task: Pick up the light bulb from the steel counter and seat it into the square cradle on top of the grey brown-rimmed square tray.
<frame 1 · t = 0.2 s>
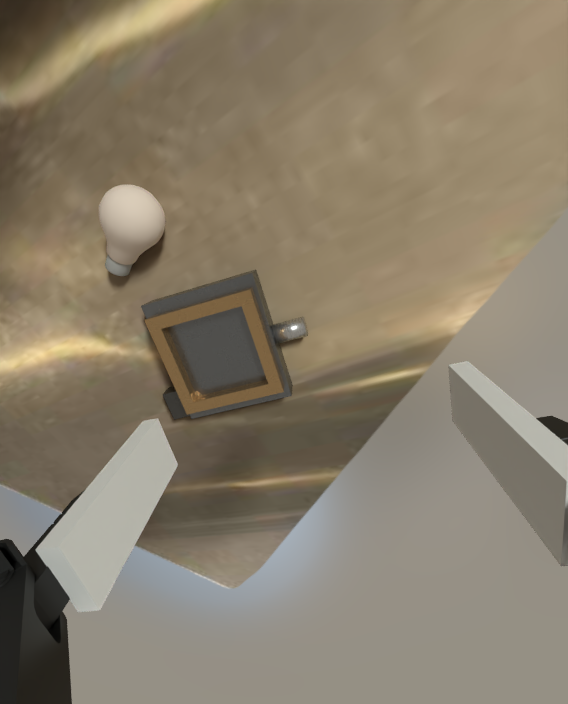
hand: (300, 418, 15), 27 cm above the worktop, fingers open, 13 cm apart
grey brown-rimmed square tray: (224, 344, 43), on the worktop
light bulb: (139, 233, 39), on the worktop
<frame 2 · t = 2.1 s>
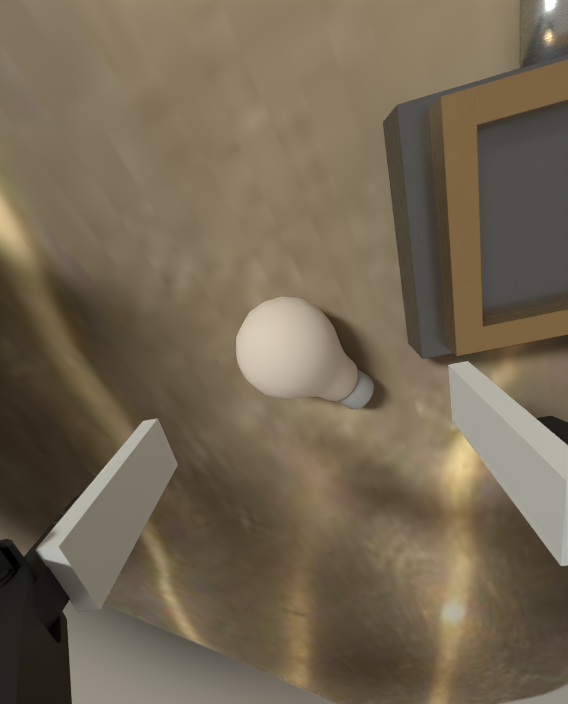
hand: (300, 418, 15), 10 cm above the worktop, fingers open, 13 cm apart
grey brown-rimmed square tray: (527, 213, 20), on the worktop
light bulb: (309, 349, 25), on the worktop
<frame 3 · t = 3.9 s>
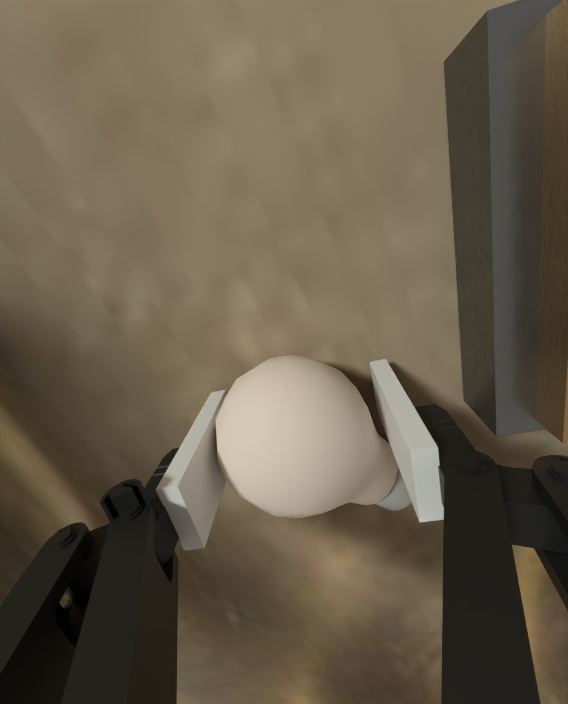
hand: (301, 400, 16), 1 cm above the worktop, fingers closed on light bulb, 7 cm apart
light bulb: (324, 417, 18), on the worktop, touching gripper
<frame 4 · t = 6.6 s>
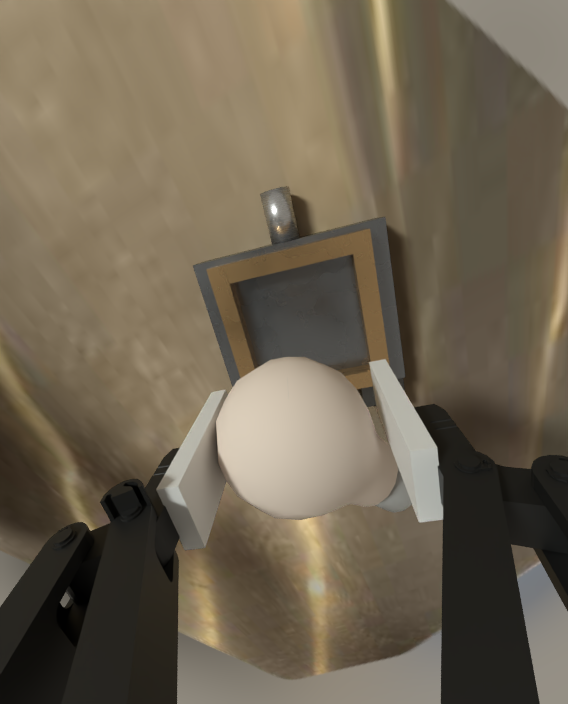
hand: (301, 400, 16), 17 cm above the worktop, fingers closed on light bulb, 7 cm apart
grey brown-rimmed square tray: (303, 315, 32), on the worktop
light bulb: (324, 419, 18), point 16 cm above the worktop, touching gripper
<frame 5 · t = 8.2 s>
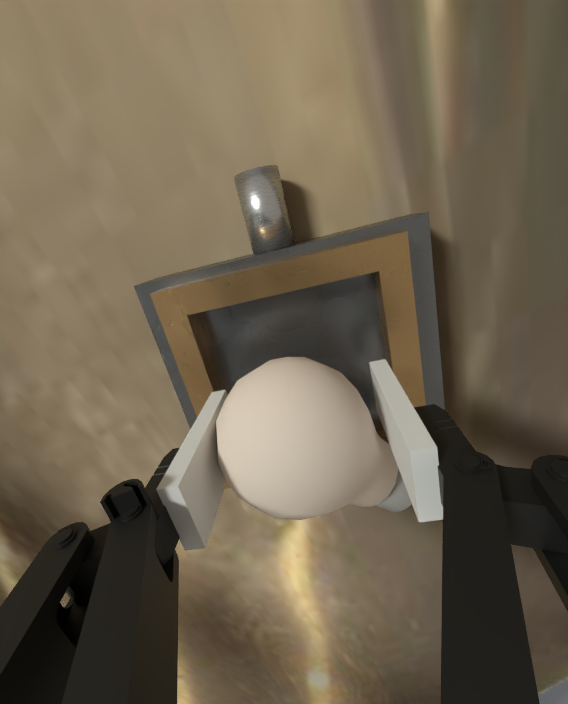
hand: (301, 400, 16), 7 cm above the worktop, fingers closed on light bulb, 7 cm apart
grey brown-rimmed square tray: (301, 352, 22), on the worktop
light bulb: (324, 419, 18), point 6 cm above the worktop, touching gripper
when the fingers open (5 cm above the worktop, at t = 9.4 s): light bulb stays where it is, resting on grey brown-rimmed square tray.
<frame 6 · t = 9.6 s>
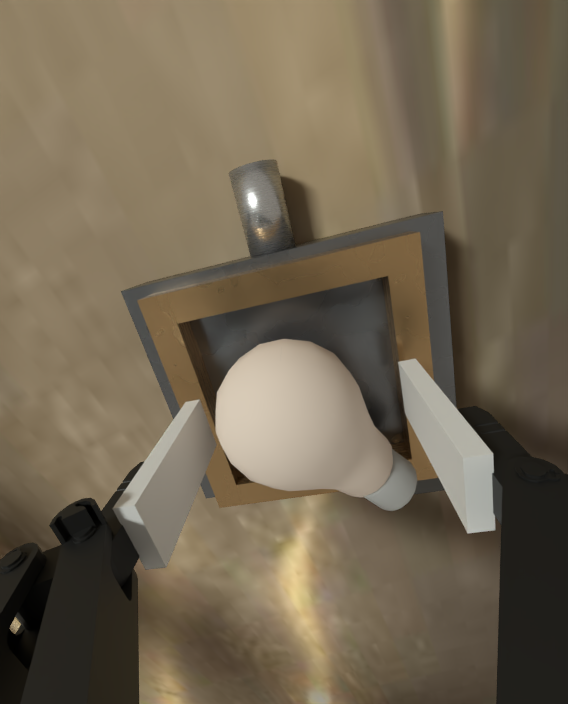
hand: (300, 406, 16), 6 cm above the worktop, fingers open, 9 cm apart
grey brown-rimmed square tray: (302, 361, 21), on the worktop
light bulb: (324, 415, 18), point 4 cm above the worktop, touching grey brown-rimmed square tray
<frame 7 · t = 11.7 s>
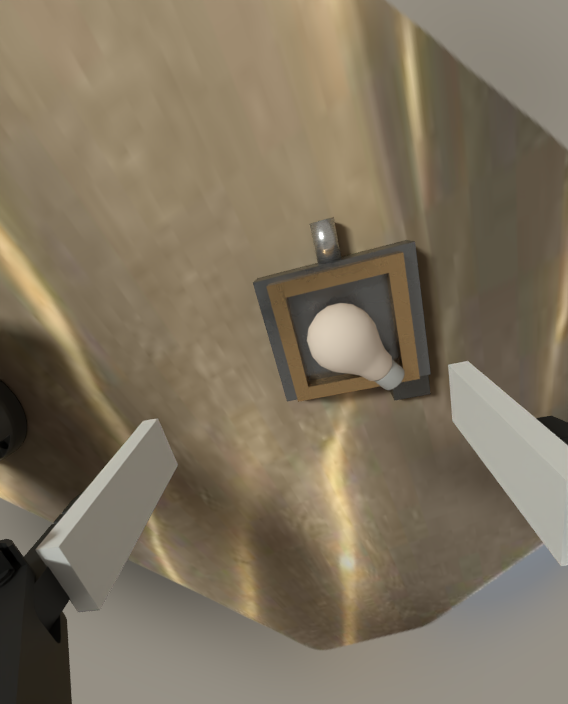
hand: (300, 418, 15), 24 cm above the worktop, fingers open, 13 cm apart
grey brown-rimmed square tray: (341, 321, 37), on the worktop
light bulb: (356, 346, 34), point 4 cm above the worktop, touching grey brown-rimmed square tray
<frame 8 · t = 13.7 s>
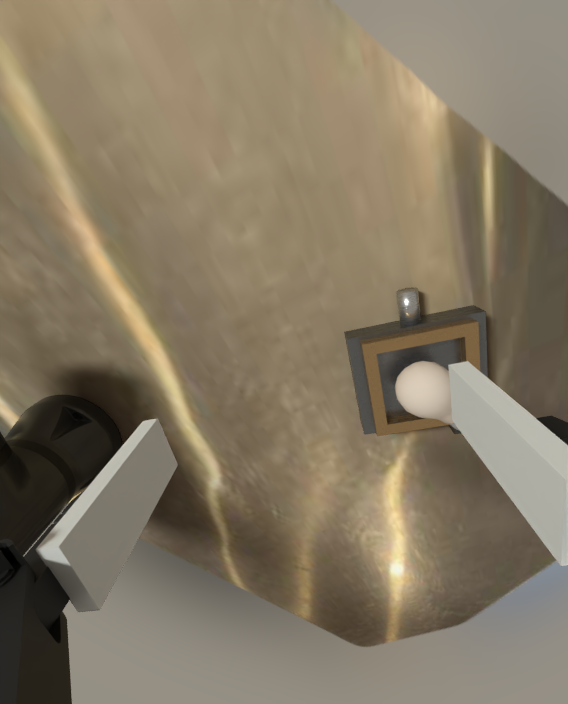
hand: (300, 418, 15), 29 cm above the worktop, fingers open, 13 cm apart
grey brown-rimmed square tray: (412, 368, 44), on the worktop
light bulb: (430, 392, 41), point 4 cm above the worktop, touching grey brown-rimmed square tray
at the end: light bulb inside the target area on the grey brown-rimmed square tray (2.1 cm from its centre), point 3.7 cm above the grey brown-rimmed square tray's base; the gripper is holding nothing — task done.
